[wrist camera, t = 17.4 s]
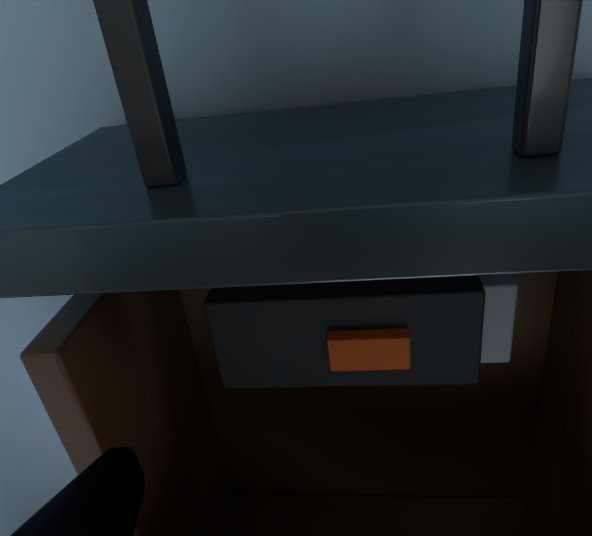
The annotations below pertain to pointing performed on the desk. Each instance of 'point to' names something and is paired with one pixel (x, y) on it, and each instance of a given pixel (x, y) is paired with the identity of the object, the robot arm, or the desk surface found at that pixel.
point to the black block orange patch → (362, 331)
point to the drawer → (319, 269)
